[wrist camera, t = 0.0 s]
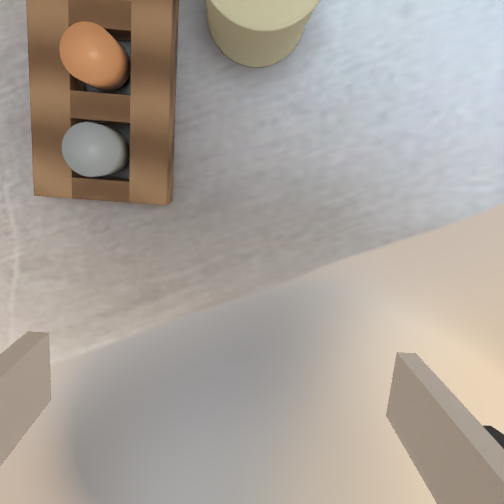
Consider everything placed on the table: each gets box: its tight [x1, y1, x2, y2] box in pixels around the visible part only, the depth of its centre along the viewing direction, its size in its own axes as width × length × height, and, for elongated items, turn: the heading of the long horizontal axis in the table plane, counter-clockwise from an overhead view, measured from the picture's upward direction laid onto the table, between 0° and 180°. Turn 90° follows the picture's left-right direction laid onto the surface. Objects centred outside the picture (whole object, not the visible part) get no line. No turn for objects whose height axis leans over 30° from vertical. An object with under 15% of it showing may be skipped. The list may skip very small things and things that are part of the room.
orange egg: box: [59, 21, 131, 91], centre depth 35 cm, size 4×4×5 cm
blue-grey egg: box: [62, 122, 130, 177], centre depth 36 cm, size 4×4×5 cm
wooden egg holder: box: [26, 0, 179, 205], centre depth 37 cm, size 24×12×4 cm, turn 176°
